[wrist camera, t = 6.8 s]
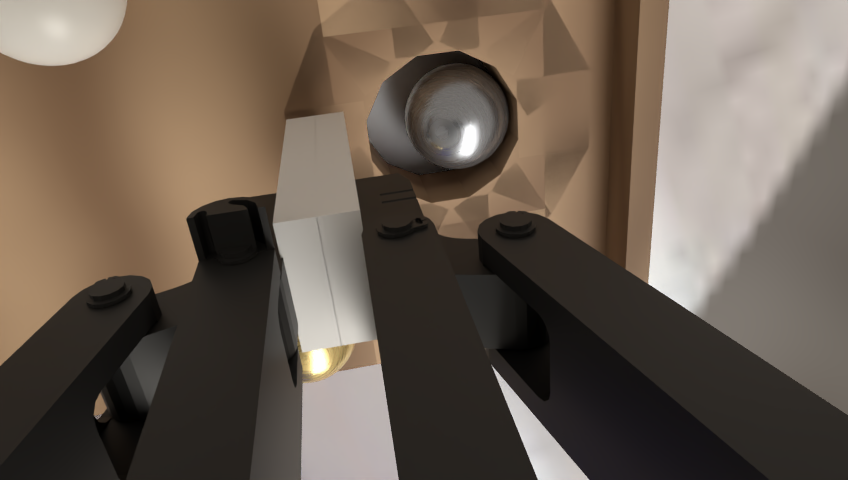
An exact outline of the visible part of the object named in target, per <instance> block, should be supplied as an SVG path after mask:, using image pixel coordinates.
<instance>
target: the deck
mask: <svg viewBox="0 0 848 480" xmlns="http://www.w3.org/2000/svg"><path fill="white" fill-rule="evenodd" d="M668 9H669V0H127V7H126V13H125V16H124V19H123V22H122V25H121V27H120V29H119V31H118V33H117V34H116V36H115V37H114V38H113V40H112V41H111V42H110V43H109V44H108V45H107V46H106V47H105V48H104V49H102V50H101V51H100V52H98V53H97V54H96V55H94V56H92V57H90V58H88V59H85V60H82V61H79V62H77V63H73V64H68V65H60V66H45V65H35V64H30V63H26V62H22V61H19V60H16V59H14V58H11V57H9V56H6V55H4V54H2V53H0V366H1V365H2V364H3V363H4V362H5V361H6V360H7V359H8V358H9V357H10V356H11V355H12V354H13V353H14V352H15V351H16V350H17V349H19V348H20V347H21V346H22V345H23V344H24V343H25V342H26V341H27V340H28V339H29V338H30V337H31V336H32V335H33V334H34V333H35V332H36V331H37V330H38V329H40V328H41V327H42V326H43V325H44V324H45V323H46V322H47V321H48V320H49V319H50V318H51V317H52V316H53V315H54V314H55V313H56V312H57V311H58V310H59V309H61V308H62V307H63V306H64V305H65V304H66V303H67V302H68V301H69V300H70V299H71V298H72V297H73V296H75V295H76V294H78V293H79V292H80V291H82V290H83V289H85V288H87V287H89V286H91V285H93V284H95V282H97V281H99V280H102V279H105V278H106V280H107V279H108V278H109V277H113V276H119V277H120V276H127V275H136V276H143V277H146V278H148V279H150V281H151V283H152V286H153V289H154V292H155V294H157V293H160V292H163V291H166V290H169V289H173V288H176V287H178V286H181V285H184V284H186V283H189V282H191V281H192V280H193V277H194V274H195V271H196V268H197V265H198V262H199V261H198V257H197V254H196V251H195V247H194V244H193V241H192V237H191V234H190V231H189V227H188V224H187V221H186V218H187V217H188V216H189V215H190V213H191V212H193V211H194V210H196V209H198V208H199V207H201V206H203V205H206V204H209V203H212V202H214V201H218V200H223V199H227V198H235V197H253V196H260V195H266V194H273V193H277V186H278V179H279V171H280V164H281V156H282V149H283V142H284V134H285V127H286V120H287V119H294V118H301V117H308V116H315V115H323V114H330V113H337V112H343V113H344V119H345V124H346V130H347V136H348V142H349V148H350V154H351V160H352V166H353V172H354V178H355V179H362V178H368V177H375V176H382V175H388V174H395V173H398V174H400V175H402V176H404V177H406V178H407V179H409V180H410V182H411V184H412V187H413V190H414V192H415V195H416V198H417V200H418V202H419V205H420V208H421V210H422V213H423V215H424V217H427V218H429V219H430V220H431V221H432V222H433V223H434V225H435V227H436V230H437V232H438V234H440V235H442V236H446V237H451V238H463V239H478V233H477V231H478V227H479V225H480V224H481V223H482V222H483V221H484V220H486V219H487V218H490V217H492V216H495V215H497V214H503V213H506V212H508V211H516V212H517V211H526V212H528V213H534V214H539V215H541V216H544V217H546V218H548V219H550V220H551V221H553V222H554V223H556V224H558V225H559V226H561V227H562V228H564V229H565V230H567V231H568V232H570V233H571V234H573V235H574V236H576V237H577V238H579V239H580V240H582V241H583V242H585V243H586V244H588V245H589V246H591V247H593V248H594V249H596V250H597V251H599V252H600V253H602V254H603V255H605V256H606V257H608V258H609V259H611V260H612V261H614V262H615V263H617V264H618V265H620V266H621V267H623V268H624V269H626V270H628V271H629V272H631V273H632V274H634V275H635V276H637V277H638V278H640V279H641V280H643V281H644V282H646V283H647V284H648V277H649V263H650V250H651V237H652V223H653V210H654V196H655V183H656V170H657V156H658V143H659V130H660V116H661V103H662V89H663V76H664V63H665V49H666V36H667V22H668ZM458 50H459V51H461V52H463V53H466V54H468V55H470V56H472V57H474V58H477V59H479V60H481V61H482V63H483V64H484V66H485V67H486V69H487V70H488V72H489V73H490V75H491V76H492V78H493V79H494V80H495V81H496V82H497V83H498V85H499V86H500V87H501V89H502V91H503V93H504V95H505V98H506V101H507V105H508V126H507V130H506V133H505V136H504V138H503V140H502V142H501V144H500V145H499V147H498V148H497V149H496V151H495V152H494V153H493V154H492V155H491V156H490V157H488V158H487V159H486V160H484V161H483V162H481V163H479V164H477V165H475V166H472V167H468V168H462V169H454V170H450V171H444V172H437V173H430V174H424V175H417V174H414V173H412V172H409V171H406V170H404V169H401V168H398V167H396V166H393V165H390V164H387V163H386V161H385V160H384V159H383V158H382V157H381V155H380V154H379V153H378V152H377V150H376V149H375V148H374V147H373V145H372V144H371V143H370V142H369V138H368V131H367V124H366V121H367V118H368V116H369V114H370V111H371V109H372V106H373V104H374V101H375V99H376V97H377V94H378V92H379V89H380V87H381V84H382V82H384V81H385V80H386V79H388V78H389V77H390V76H391V75H393V74H394V73H395V72H397V71H398V70H399V69H400V68H402V67H403V66H404V65H406V64H407V63H408V62H409V61H411V60H412V59H413V58H415V57H416V56H420V55H428V54H436V53H443V52H451V51H458ZM375 364H381V359H380V353H379V346H378V340H371V341H366V342H360V343H355V346H354V349H353V351H352V354H351V355H350V357H349V359H348V360H347V362H346V363H345V364H344V365H343V367H342V368H341V369H340V370H338V371H342V370H348V369H353V368H359V367H364V366H370V365H375ZM106 409H107V407H106V405H105V403H104V400H103V398H102V396H101V393H100V394H99V396H98V398H97V400H96V402H95V409H94V415H99V414H103V413H104V412H105V410H106Z"/></svg>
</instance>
